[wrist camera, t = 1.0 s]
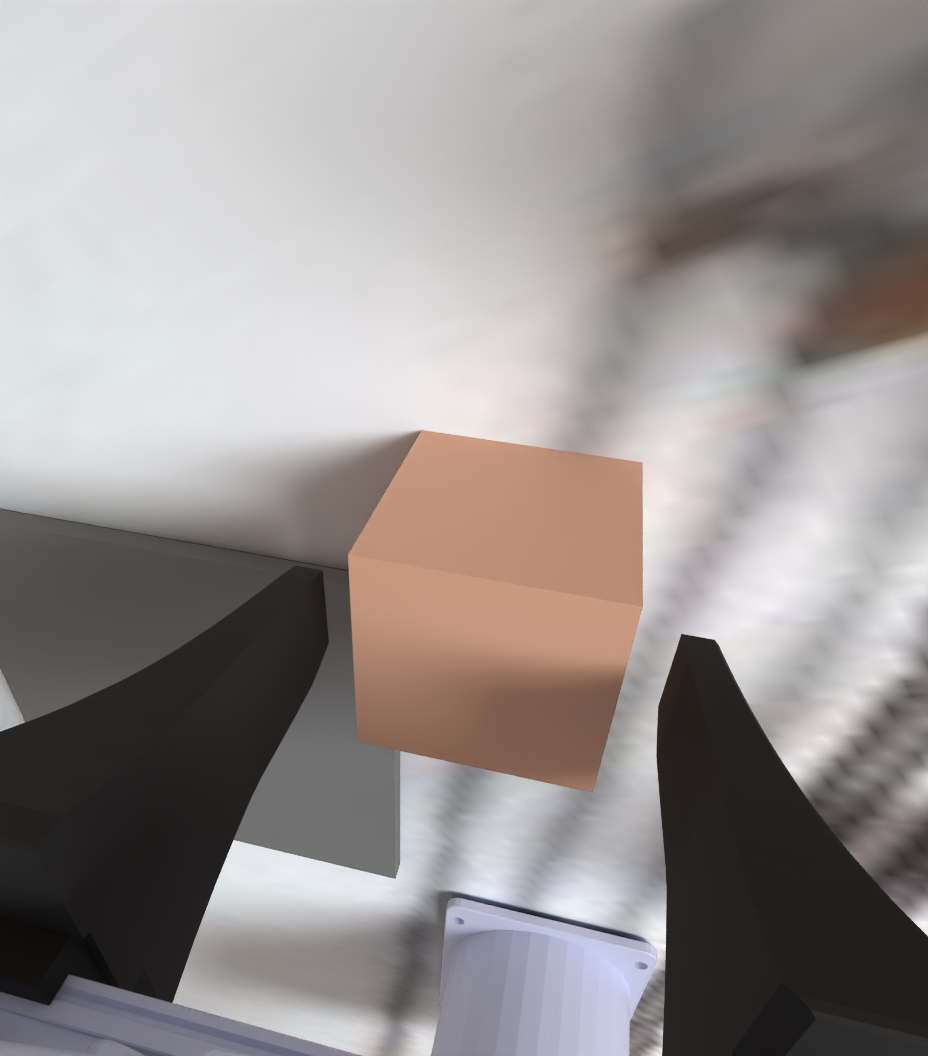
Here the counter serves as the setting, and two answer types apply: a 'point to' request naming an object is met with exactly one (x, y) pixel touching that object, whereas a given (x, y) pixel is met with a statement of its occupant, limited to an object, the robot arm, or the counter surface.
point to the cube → (498, 606)
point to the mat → (164, 626)
